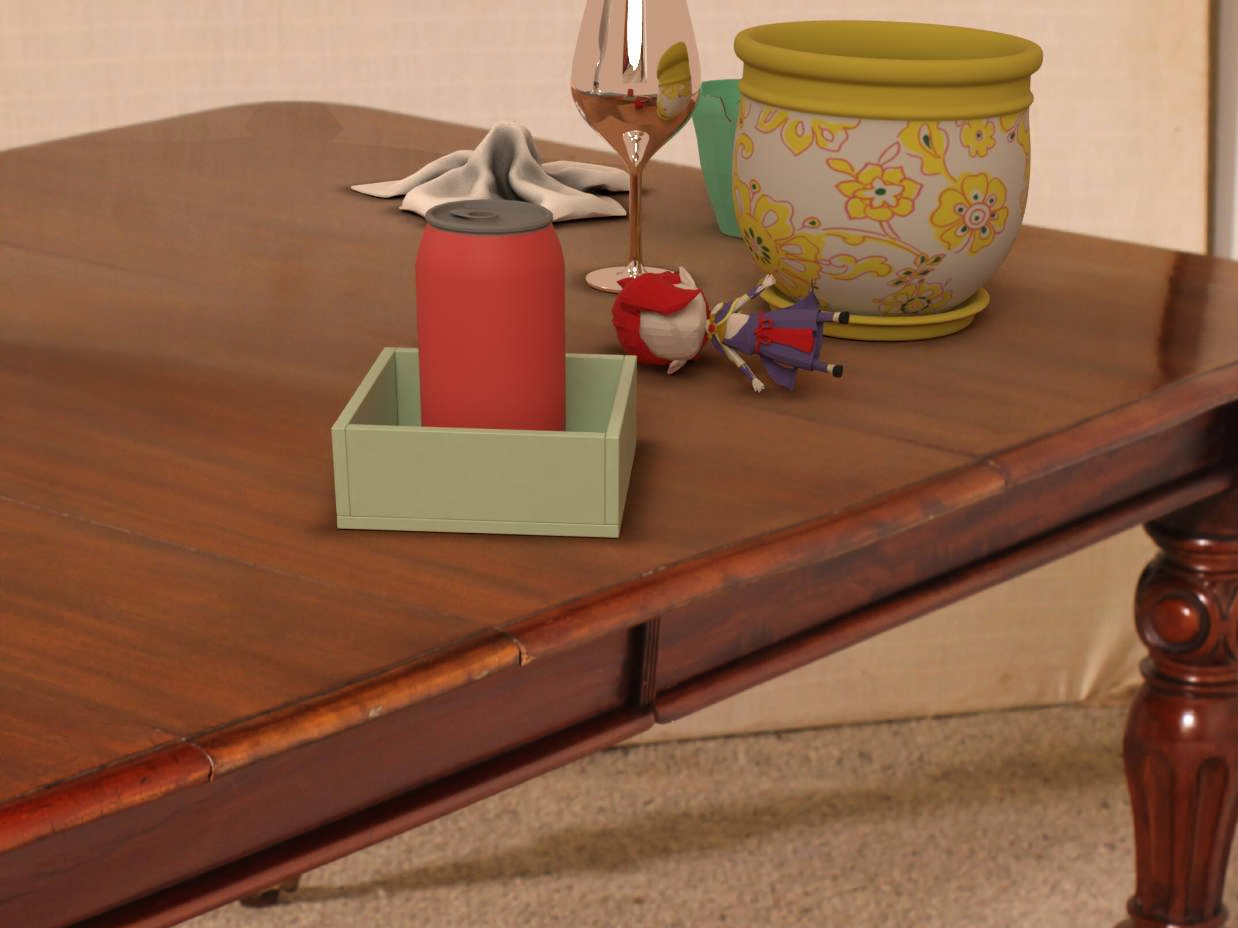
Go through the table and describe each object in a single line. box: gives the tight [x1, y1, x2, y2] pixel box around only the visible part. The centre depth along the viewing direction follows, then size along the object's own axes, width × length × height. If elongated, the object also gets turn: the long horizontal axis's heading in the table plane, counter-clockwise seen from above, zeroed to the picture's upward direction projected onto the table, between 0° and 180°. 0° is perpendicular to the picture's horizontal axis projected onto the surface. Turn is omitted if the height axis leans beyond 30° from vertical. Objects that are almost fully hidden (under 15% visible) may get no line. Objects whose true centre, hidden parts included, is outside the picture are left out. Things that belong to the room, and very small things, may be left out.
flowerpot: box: [732, 19, 1044, 342], centre depth 113 cm, size 18×18×16 cm
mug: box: [691, 78, 743, 239], centre depth 134 cm, size 15×10×10 cm
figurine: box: [611, 265, 850, 393], centre depth 102 cm, size 6×8×15 cm
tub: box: [330, 346, 638, 539], centre depth 86 cm, size 12×12×5 cm
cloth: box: [350, 119, 629, 223], centre depth 141 cm, size 22×19×6 cm
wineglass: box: [569, 0, 703, 294], centre depth 118 cm, size 8×8×18 cm
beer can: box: [414, 199, 566, 432], centre depth 84 cm, size 7×7×12 cm
